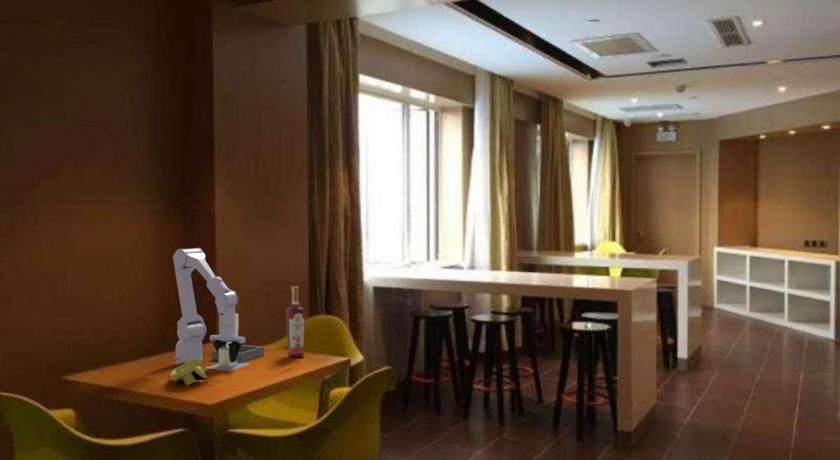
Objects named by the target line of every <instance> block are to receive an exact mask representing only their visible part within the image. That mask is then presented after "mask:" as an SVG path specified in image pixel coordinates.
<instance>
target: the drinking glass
mask: <svg viewBox="0 0 840 460" xmlns="http://www.w3.org/2000/svg"><path fill="white" fill-rule="evenodd" d="M239 323H240V322H239V313H236V312H235V336H239ZM233 341H234V340H233ZM230 343H232V342H227V343H226V346H228V344H230Z"/></svg>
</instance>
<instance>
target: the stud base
mask: <svg viewBox="0 0 840 460" xmlns="http://www.w3.org/2000/svg"><path fill="white" fill-rule="evenodd" d="M250 365H251V363H249V362H246V363H245V362H237V365H236V366H233V367H230V368H227V367H219V363H216V364H212V365H210V366H206V367H205V369H206V370H207V369H210V370H220V371H230V372H231V371H235V370H237V369H240V368H243V367H246V366H250Z"/></svg>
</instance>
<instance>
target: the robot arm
mask: <svg viewBox="0 0 840 460" xmlns="http://www.w3.org/2000/svg"><path fill="white" fill-rule="evenodd" d="M172 260H173V266H174V273H175V278H176V284H177V285H176V286H177V289H178V296H179V303H180V309H181V310H180V311H181V315H182V316H181V318H180V319H179V320H178V321H177V322H176V323H177V331H176V334H177V338H178V339H179V340H178V341H177V342H176V345H175V362H174V363H173V364H174V365H179V364H182V363H183V364H184V363H187V362H188V361H190V360H192V359H194V358H197V359H198V360H199V361H200V362H201V361H203V340H204V338H205V336H206V334H207V326H206V324H205V322H204V318H203V317H202V316H201V315H199V314H198V311H197V304H196V300H195V292H194V287H193V280H192V273H193V271H194V270H195V269H196V270H197V272H199V274H200V275H201V276H202V278H204V279H205V281H206V287H207V289H208V290H209V291H210V292H211V295H213V297H214V298H215V300H214V302H215V305H216V307H217V312H218V327H219V328H218V332H219V334H211V335H210V336H209V341H210V342H213V343H212V346H213V347H214V349H215V350H216V351H217V353H218V356H219V347H223V346H226V343H227V342H232V343H230V344H228V346H229V349H230V354H231V362H236V359H237V355H238V352H239V349H240V347H241V345H243V344H245V343H246V337H245V336H241V335H240V336H239V335H238V336H235V313H236V306H237V305H238V303H239V296H238V294H237V292H236V291H234V290H231V289H229V287H228V286H227V285H226V284H225V282H224V281H223V278H222V277H221V276H216V275H215V273H214V272H213V270H212V269H211V266H209V264H208V263H207V261H206V254H205V253H204V251H203V250H202V248H200V247H195V248H194V247H193V248H178V249H177V250H175V252H174V254H173V255H172ZM233 340H234V341H233Z"/></svg>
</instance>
